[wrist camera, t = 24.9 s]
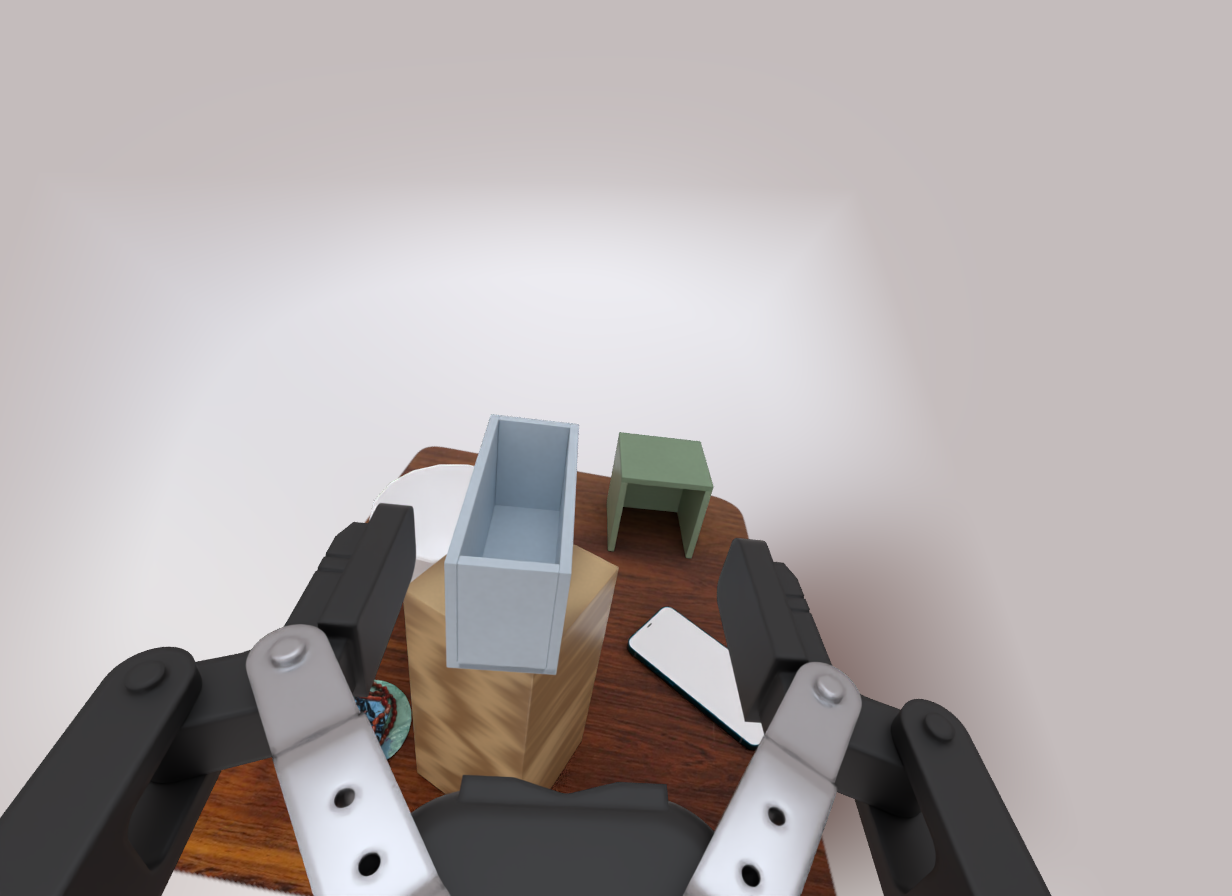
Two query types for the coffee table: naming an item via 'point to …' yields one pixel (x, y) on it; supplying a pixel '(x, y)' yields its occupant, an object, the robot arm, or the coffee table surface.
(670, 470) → the cabinet
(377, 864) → the robot arm
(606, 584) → the stand
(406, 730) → the dish
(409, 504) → the cup
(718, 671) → the smartphone
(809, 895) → the coffee table surface
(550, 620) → the bin
